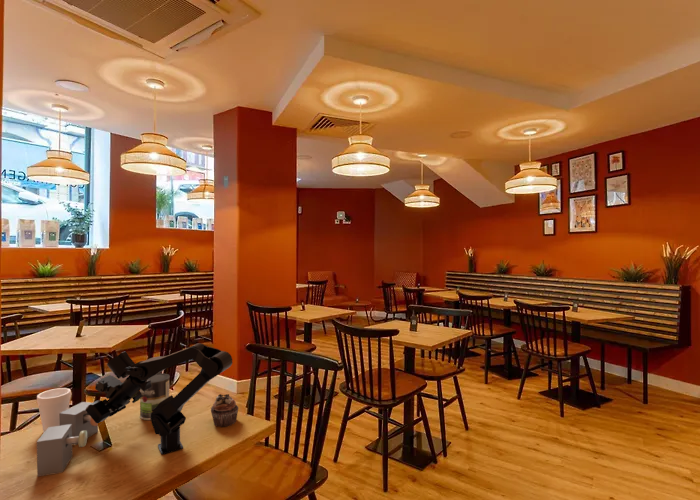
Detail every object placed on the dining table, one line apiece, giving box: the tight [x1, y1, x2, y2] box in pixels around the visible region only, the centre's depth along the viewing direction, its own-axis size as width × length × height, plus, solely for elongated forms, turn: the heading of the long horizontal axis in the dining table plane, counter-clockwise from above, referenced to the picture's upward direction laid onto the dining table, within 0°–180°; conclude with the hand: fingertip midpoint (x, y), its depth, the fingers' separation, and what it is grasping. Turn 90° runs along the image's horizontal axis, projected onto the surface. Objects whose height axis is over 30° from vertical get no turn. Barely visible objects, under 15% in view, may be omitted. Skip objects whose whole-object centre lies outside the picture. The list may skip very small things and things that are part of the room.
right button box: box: [59, 401, 99, 446], centre depth 135 cm, size 6×9×10 cm, turn 170°
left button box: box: [36, 424, 73, 477], centre depth 118 cm, size 6×9×10 cm, turn 20°
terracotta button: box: [83, 414, 99, 427], centre depth 134 cm, size 6×4×4 cm
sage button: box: [65, 430, 88, 448], centre depth 119 cm, size 6×4×4 cm
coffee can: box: [139, 372, 171, 421], centre depth 152 cm, size 10×10×14 cm
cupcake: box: [210, 393, 239, 428], centre depth 146 cm, size 10×10×10 cm
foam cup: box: [36, 387, 72, 433], centre depth 140 cm, size 10×9×13 cm
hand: (100, 418), depth 133 cm, fingers closed
